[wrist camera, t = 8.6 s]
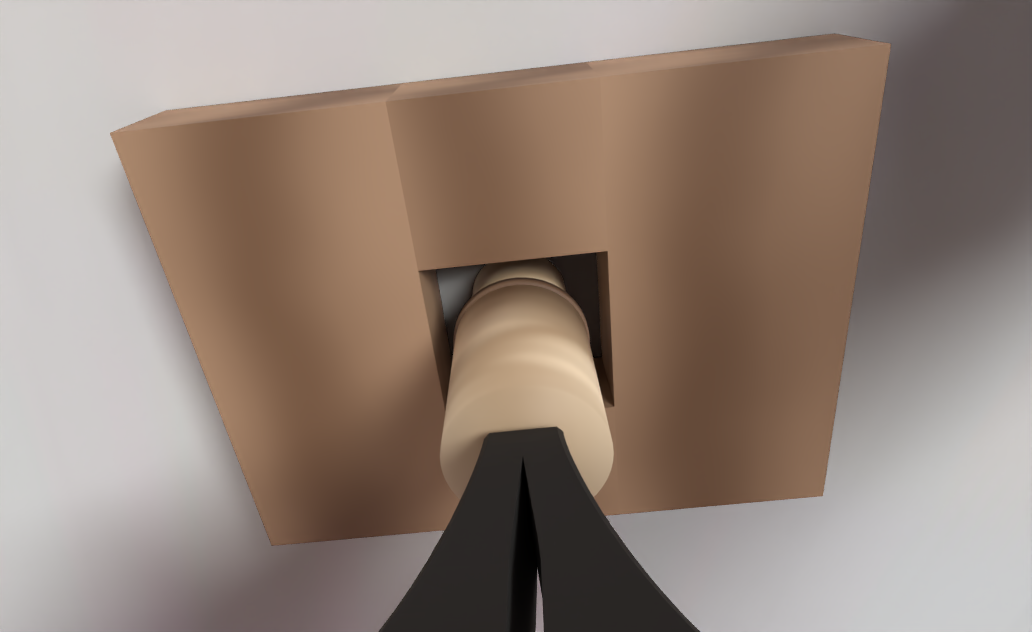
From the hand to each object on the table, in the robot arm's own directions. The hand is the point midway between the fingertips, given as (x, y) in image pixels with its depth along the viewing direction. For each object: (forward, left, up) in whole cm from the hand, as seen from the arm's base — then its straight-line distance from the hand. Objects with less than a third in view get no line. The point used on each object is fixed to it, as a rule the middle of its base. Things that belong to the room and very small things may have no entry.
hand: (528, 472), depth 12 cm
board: (0, 0, -7) cm, 7 cm away
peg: (0, 0, -7) cm, 7 cm away
